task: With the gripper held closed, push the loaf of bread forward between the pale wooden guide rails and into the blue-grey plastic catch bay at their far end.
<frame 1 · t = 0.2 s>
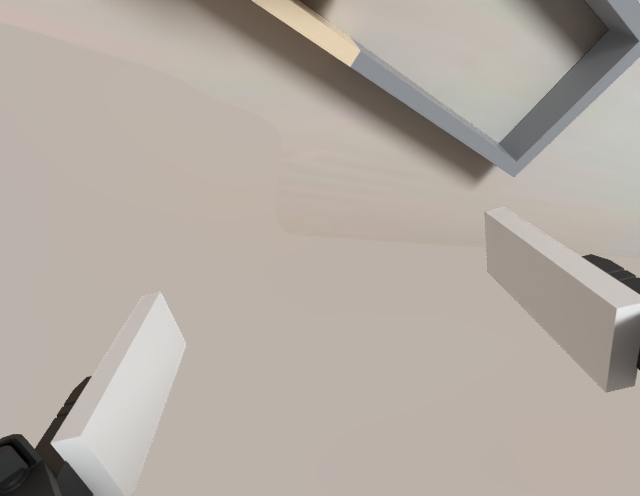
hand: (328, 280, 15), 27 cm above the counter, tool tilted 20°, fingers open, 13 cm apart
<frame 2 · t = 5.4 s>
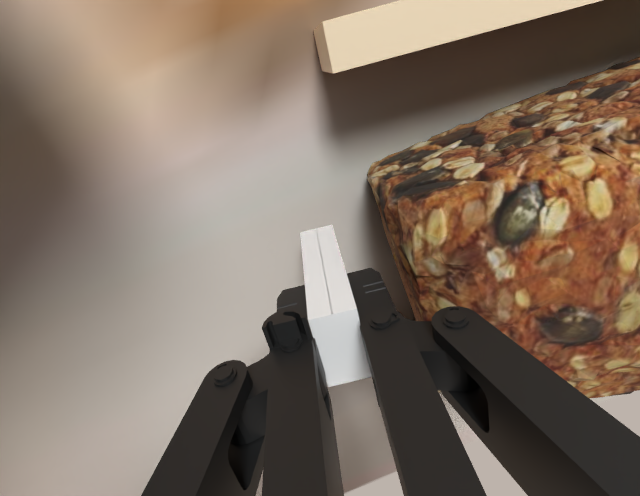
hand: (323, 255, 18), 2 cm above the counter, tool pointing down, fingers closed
bread: (552, 182, 20), on the counter, touching gripper
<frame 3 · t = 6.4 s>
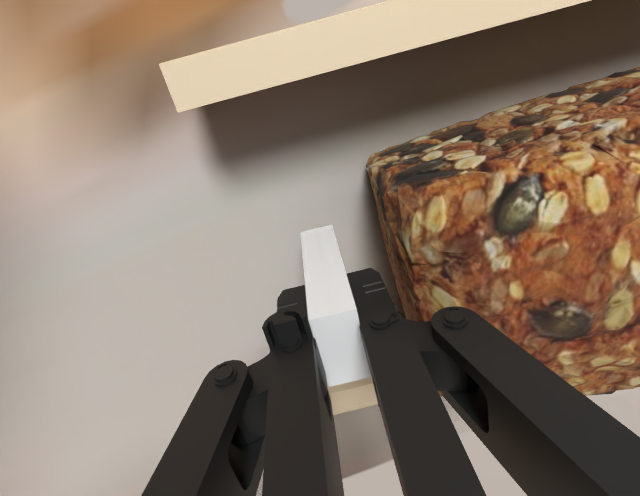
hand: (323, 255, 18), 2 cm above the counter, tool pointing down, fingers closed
bread: (545, 186, 20), on the counter
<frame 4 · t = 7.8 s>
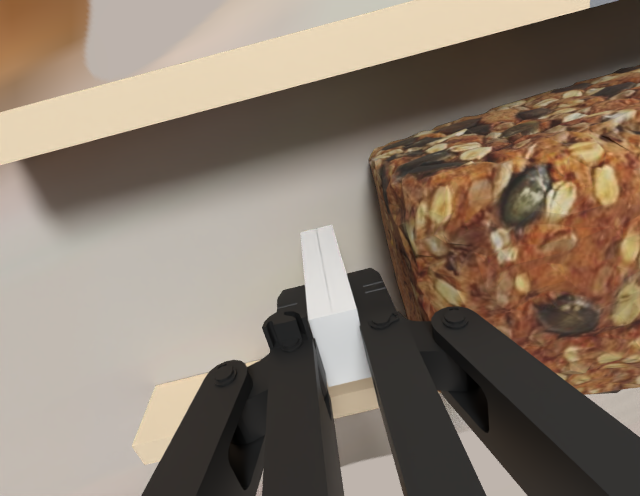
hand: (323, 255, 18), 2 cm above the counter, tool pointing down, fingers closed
catch bay: (521, 179, 19), on the counter
bread: (549, 184, 20), on the counter
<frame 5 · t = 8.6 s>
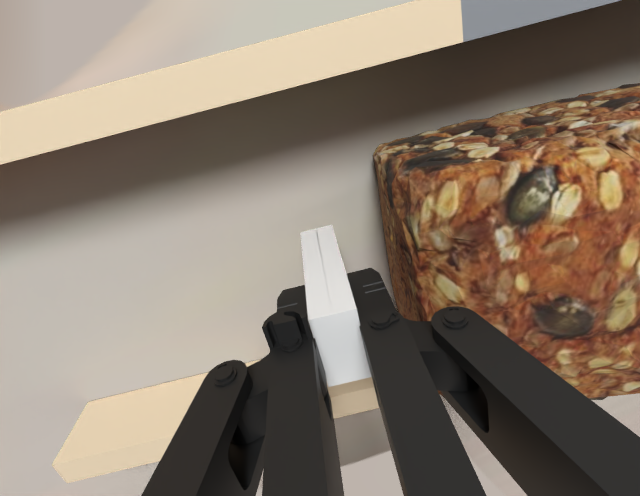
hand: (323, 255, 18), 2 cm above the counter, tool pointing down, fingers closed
catch bay: (439, 200, 19), on the counter
bread: (547, 194, 20), on the counter, touching gripper
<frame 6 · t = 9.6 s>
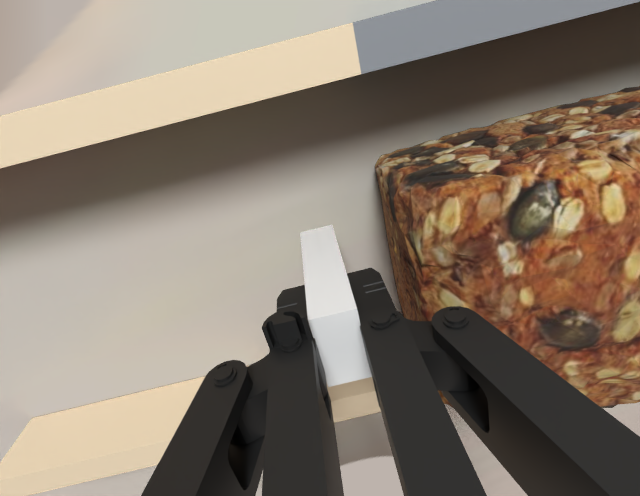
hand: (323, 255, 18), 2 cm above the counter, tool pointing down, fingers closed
catch bay: (372, 221, 19), on the counter
bread: (551, 198, 20), on the counter, touching gripper
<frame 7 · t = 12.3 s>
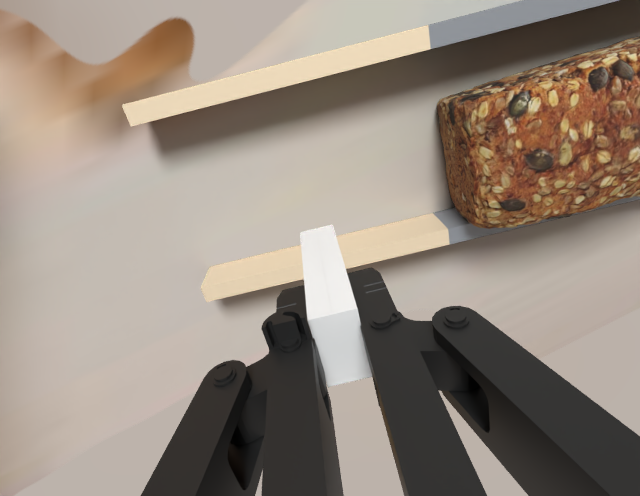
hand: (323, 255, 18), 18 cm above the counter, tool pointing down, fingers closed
catch bay: (424, 139, 34), on the counter
bread: (539, 123, 34), on the counter
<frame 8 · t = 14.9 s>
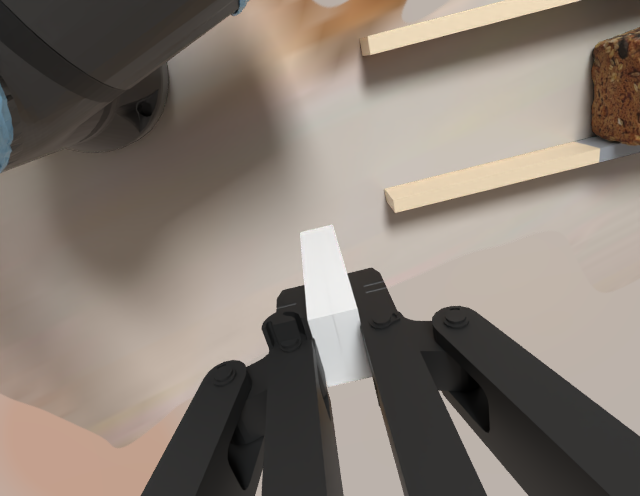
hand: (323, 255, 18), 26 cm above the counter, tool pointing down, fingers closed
catch bay: (578, 75, 41), on the counter
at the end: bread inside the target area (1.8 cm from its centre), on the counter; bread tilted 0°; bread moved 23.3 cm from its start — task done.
